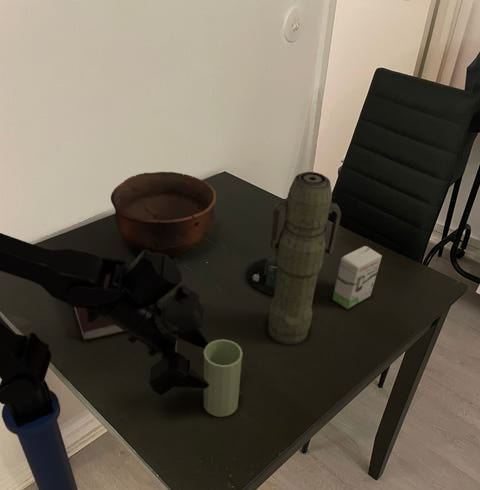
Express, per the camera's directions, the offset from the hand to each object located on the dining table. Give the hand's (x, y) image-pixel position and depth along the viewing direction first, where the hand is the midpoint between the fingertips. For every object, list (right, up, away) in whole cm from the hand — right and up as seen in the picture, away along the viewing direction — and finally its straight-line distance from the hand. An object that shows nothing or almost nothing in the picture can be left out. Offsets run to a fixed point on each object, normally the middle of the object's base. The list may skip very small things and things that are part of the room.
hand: (207, 365), depth 86 cm
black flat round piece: (+15, +18, +37) cm, 44 cm away
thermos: (+16, +5, +23) cm, 28 cm away
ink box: (+32, +13, +32) cm, 47 cm away
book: (-24, +10, +25) cm, 36 cm away
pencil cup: (+2, -7, +7) cm, 10 cm away
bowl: (-13, +26, +44) cm, 53 cm away
